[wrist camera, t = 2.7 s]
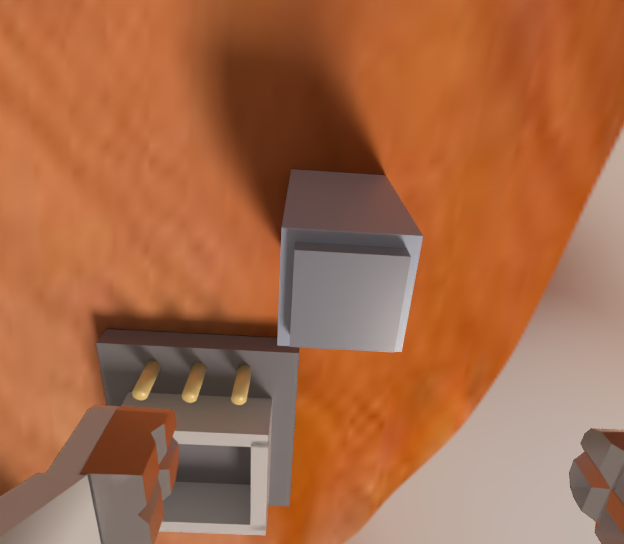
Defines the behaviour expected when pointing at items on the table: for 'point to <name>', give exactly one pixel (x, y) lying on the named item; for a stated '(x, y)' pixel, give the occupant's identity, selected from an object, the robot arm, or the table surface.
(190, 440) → the header board
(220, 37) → the table surface
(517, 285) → the table surface
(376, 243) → the plug block
